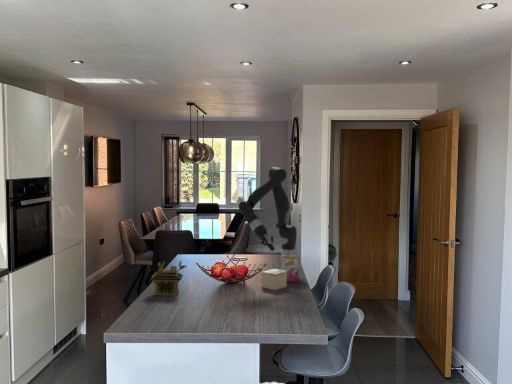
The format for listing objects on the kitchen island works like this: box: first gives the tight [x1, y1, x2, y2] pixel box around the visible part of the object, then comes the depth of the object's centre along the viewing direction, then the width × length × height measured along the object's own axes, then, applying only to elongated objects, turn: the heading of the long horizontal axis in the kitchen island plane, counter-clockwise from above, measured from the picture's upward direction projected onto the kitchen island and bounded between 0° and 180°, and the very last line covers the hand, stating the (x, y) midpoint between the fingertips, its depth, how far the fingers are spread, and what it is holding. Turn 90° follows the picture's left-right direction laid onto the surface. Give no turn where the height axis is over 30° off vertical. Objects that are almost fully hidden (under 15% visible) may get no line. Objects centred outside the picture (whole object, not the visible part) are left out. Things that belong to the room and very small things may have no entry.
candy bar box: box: [280, 254, 300, 283], centre depth 304 cm, size 11×5×16 cm, turn 84°
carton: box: [261, 272, 288, 291], centre depth 287 cm, size 12×10×9 cm
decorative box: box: [150, 260, 188, 297], centre depth 267 cm, size 20×10×20 cm, turn 91°
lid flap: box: [261, 268, 287, 275], centre depth 287 cm, size 12×10×1 cm
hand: (273, 250), depth 287 cm, fingers closed
